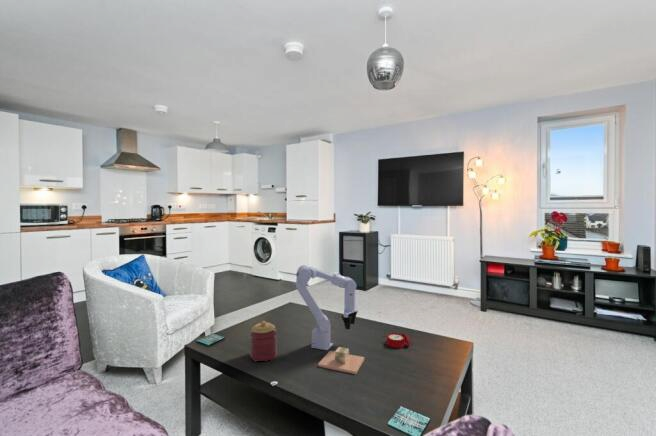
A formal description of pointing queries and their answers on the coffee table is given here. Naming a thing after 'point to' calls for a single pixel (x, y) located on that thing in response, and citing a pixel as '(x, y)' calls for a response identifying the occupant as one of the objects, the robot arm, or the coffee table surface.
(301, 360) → the coffee table surface
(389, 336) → the alarm clock
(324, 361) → the terracotta tile
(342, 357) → the maple cube
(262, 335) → the canister
